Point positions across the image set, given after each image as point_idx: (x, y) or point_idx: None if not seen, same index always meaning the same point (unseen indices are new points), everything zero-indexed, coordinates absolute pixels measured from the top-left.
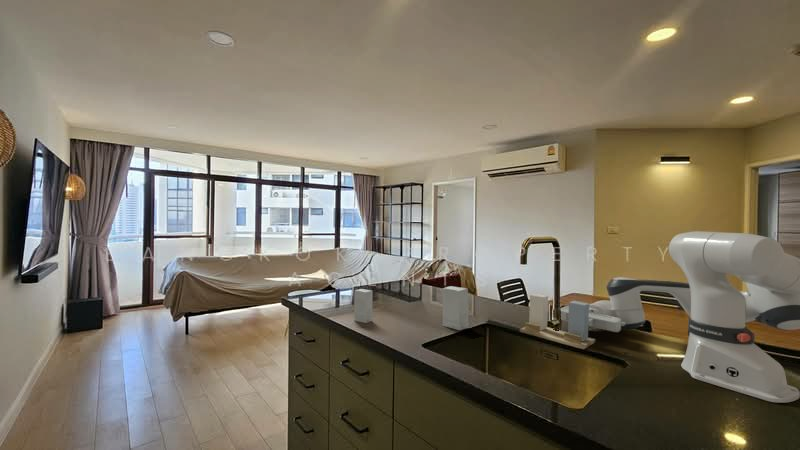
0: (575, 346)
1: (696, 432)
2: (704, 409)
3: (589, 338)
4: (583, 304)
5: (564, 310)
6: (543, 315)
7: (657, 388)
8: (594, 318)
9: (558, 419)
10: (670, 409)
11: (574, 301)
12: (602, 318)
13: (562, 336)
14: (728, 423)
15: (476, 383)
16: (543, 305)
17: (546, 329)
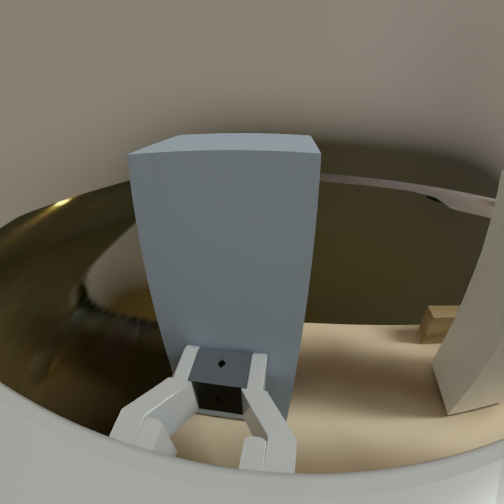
0: None
1: (90, 195)
2: (50, 222)
3: (178, 439)
4: (187, 137)
5: (491, 470)
6: (469, 301)
7: (75, 233)
8: (92, 431)
9: None
10: (91, 207)
11: (292, 145)
12: (19, 417)
13: (321, 371)
14: (47, 214)
15: None
16: (492, 234)
17: (442, 409)
